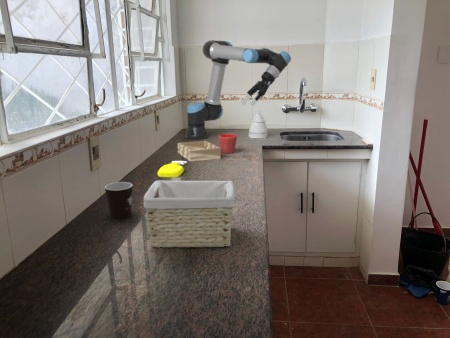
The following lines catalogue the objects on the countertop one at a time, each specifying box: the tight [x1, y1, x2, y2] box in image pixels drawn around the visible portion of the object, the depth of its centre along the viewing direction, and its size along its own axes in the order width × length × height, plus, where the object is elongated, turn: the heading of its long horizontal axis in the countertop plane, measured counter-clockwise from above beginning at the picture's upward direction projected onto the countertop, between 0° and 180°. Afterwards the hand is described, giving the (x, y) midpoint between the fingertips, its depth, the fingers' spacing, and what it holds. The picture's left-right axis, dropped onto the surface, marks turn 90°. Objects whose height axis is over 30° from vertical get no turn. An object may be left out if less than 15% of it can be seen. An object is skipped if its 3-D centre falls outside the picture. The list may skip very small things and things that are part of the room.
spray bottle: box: [157, 160, 188, 178], centre depth 173 cm, size 3×11×24 cm
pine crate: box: [177, 140, 222, 162], centre depth 201 cm, size 22×17×6 cm
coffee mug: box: [104, 181, 134, 220], centre depth 120 cm, size 12×9×10 cm
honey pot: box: [248, 110, 268, 139], centre depth 253 cm, size 13×13×18 cm
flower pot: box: [217, 133, 238, 155], centre depth 208 cm, size 11×11×10 cm
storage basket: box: [143, 179, 236, 248], centre depth 103 cm, size 24×16×15 cm
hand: (246, 104), depth 207 cm, fingers open, 13 cm apart
